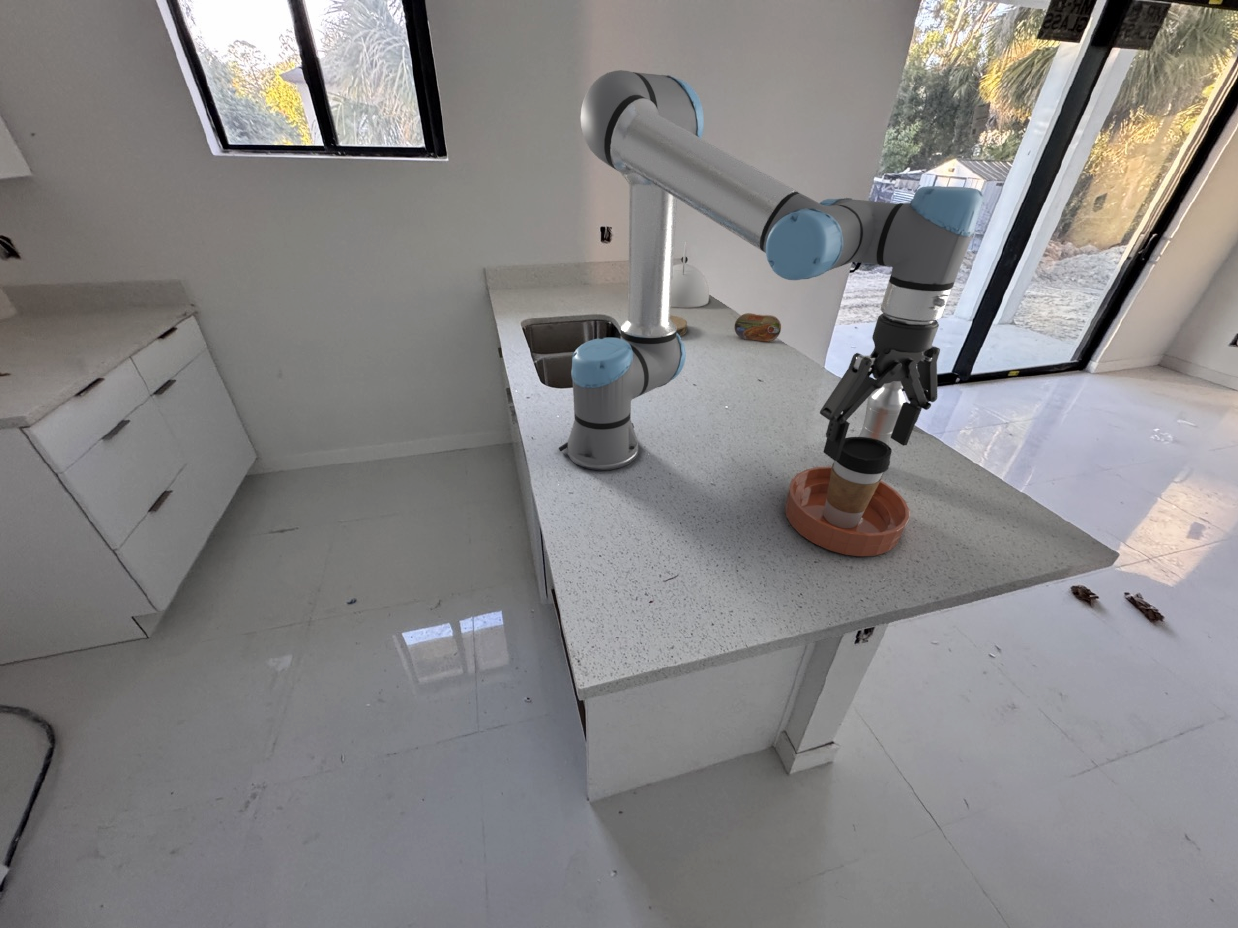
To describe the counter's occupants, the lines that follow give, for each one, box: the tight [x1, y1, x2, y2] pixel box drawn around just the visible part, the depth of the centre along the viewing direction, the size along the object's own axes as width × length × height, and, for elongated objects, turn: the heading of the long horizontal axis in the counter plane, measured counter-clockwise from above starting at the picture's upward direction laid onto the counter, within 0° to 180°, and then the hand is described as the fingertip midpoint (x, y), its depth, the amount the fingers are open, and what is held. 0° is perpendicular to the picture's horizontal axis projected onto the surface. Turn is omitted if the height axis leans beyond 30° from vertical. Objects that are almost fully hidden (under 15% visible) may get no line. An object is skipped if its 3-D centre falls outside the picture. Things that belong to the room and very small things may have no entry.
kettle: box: [671, 240, 710, 309], centre depth 199 cm, size 25×23×23 cm
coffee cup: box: [823, 436, 893, 528], centre depth 82 cm, size 8×8×15 cm
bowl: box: [784, 466, 910, 557], centre depth 85 cm, size 19×19×5 cm
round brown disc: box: [670, 314, 688, 337], centre depth 171 cm, size 16×16×3 cm
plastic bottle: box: [858, 381, 907, 447], centre depth 96 cm, size 6×7×20 cm
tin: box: [734, 312, 782, 343], centre depth 162 cm, size 15×3×8 cm, turn 68°
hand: (865, 448), depth 78 cm, fingers open, 13 cm apart
